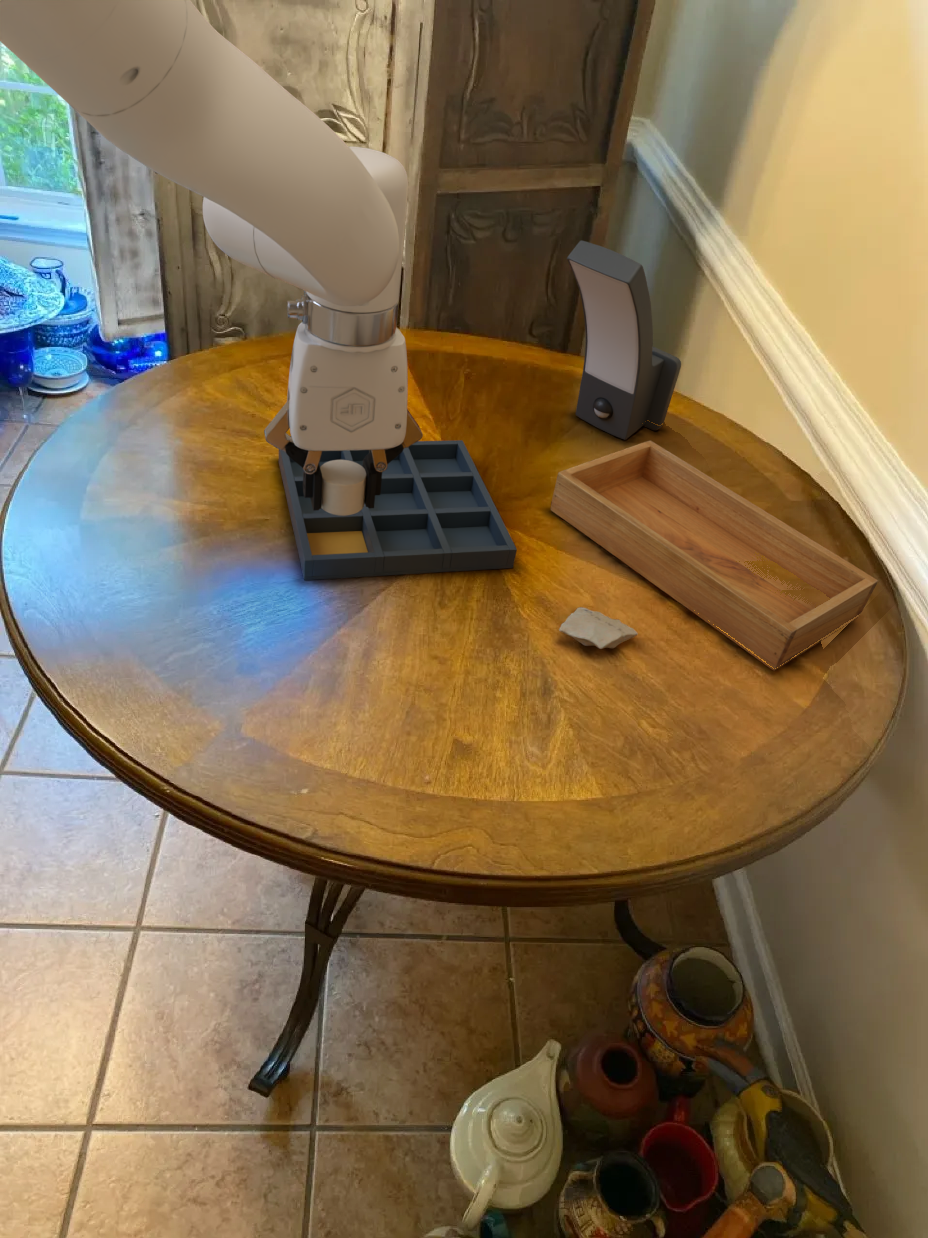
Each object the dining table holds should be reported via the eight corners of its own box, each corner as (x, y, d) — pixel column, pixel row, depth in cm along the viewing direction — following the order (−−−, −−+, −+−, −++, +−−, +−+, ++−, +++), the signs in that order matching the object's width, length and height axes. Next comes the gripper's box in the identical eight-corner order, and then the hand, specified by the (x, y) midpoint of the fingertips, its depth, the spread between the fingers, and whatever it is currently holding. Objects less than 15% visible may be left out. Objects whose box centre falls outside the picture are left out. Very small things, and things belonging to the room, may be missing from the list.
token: (321, 516, 85) (322, 485, 83) (314, 490, 88) (315, 459, 86) (368, 514, 86) (370, 484, 84) (359, 488, 89) (361, 458, 87)
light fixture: (519, 435, 114) (558, 237, 99) (596, 396, 125) (642, 213, 110) (590, 472, 110) (643, 271, 94) (663, 429, 121) (721, 242, 105)
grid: (304, 580, 87) (304, 560, 86) (278, 461, 102) (278, 443, 101) (513, 568, 93) (517, 549, 92) (459, 457, 108) (462, 439, 107)
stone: (581, 611, 90) (547, 639, 86) (586, 592, 88) (552, 620, 84) (636, 641, 87) (605, 671, 83) (642, 622, 86) (610, 652, 82)
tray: (548, 511, 102) (558, 468, 98) (638, 478, 110) (651, 436, 107) (769, 677, 86) (792, 633, 82) (855, 623, 94) (879, 580, 90)
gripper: (250, 335, 70) (254, 528, 82) (461, 337, 75) (436, 520, 87) (242, 295, 76) (247, 482, 87) (439, 299, 80) (418, 476, 92)
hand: (341, 499), depth 87 cm, fingers closed on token, 4 cm apart
